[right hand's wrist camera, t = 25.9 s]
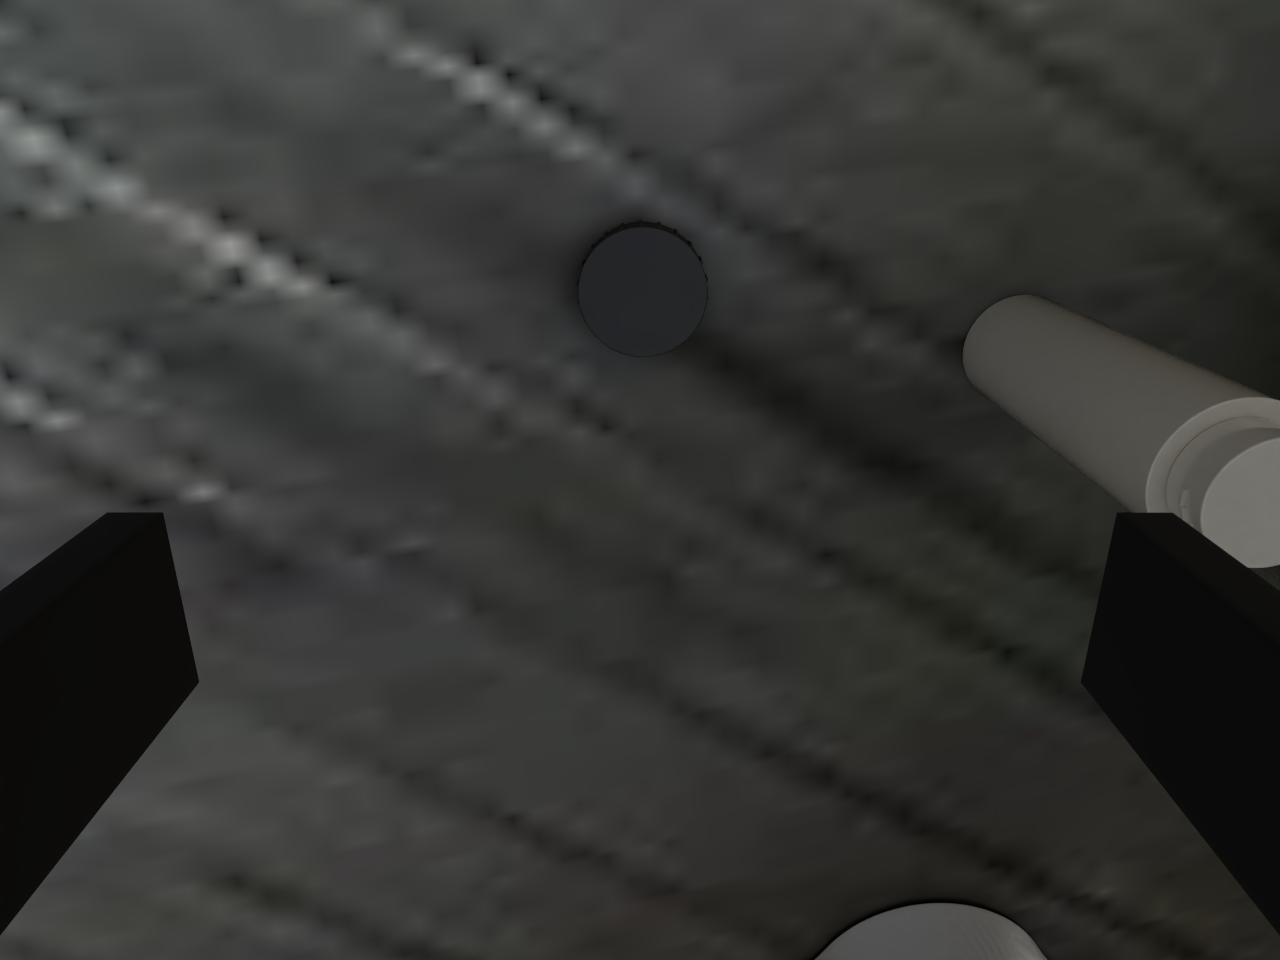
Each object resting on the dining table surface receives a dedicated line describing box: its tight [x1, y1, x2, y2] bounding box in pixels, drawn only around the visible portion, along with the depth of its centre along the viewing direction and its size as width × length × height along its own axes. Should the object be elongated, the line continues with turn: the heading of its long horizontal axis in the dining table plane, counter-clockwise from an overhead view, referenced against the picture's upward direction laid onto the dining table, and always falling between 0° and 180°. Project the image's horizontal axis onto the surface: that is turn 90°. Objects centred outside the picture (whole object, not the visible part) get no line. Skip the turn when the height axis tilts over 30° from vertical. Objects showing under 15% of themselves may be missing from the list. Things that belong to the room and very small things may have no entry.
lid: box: [577, 220, 708, 357], centre depth 38 cm, size 6×6×2 cm
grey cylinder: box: [963, 295, 1280, 568], centre depth 32 cm, size 5×5×18 cm
